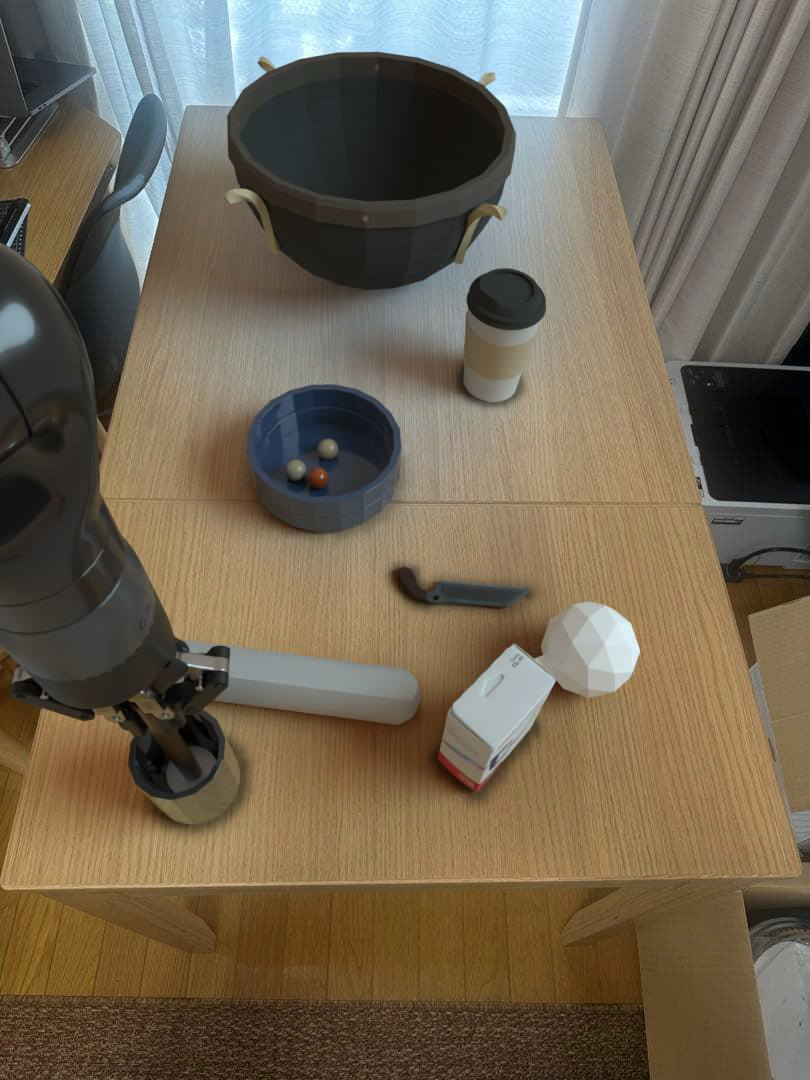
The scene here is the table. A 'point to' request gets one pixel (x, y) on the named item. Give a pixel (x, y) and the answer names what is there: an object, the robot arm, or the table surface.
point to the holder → (207, 794)
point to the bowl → (370, 164)
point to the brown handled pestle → (178, 755)
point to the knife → (462, 592)
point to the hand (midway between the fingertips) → (157, 721)
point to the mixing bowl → (354, 473)
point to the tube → (317, 685)
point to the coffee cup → (500, 331)
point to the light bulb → (589, 649)
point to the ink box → (493, 716)
